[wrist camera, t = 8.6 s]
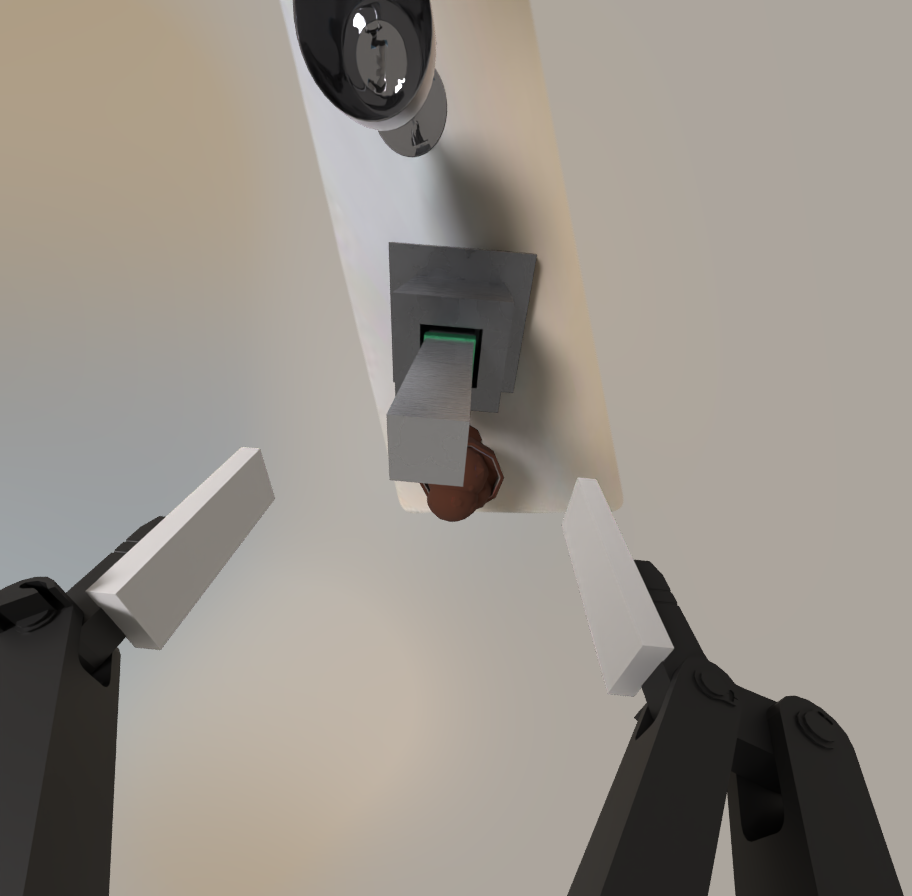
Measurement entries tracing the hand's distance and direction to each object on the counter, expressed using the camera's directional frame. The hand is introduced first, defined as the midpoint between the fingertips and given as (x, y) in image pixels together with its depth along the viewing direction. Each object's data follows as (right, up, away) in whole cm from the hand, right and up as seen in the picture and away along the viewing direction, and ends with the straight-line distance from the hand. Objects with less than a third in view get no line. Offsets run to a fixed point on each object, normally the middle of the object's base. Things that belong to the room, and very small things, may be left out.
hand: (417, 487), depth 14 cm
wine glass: (-3, +34, +18) cm, 38 cm away
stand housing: (+2, +17, +28) cm, 33 cm away
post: (+1, +13, +21) cm, 24 cm away
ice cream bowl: (+3, +3, +37) cm, 37 cm away
